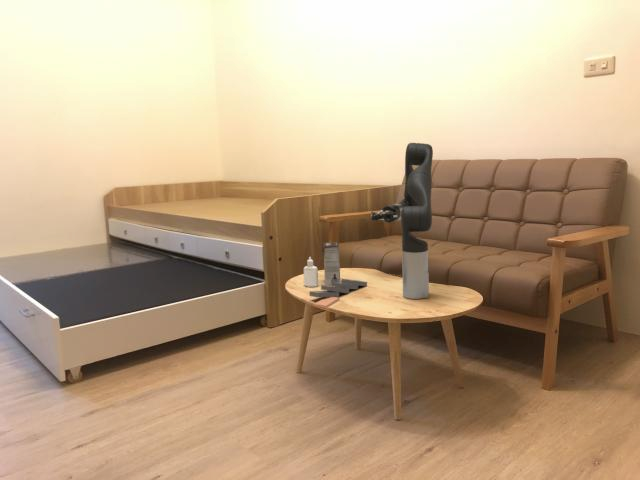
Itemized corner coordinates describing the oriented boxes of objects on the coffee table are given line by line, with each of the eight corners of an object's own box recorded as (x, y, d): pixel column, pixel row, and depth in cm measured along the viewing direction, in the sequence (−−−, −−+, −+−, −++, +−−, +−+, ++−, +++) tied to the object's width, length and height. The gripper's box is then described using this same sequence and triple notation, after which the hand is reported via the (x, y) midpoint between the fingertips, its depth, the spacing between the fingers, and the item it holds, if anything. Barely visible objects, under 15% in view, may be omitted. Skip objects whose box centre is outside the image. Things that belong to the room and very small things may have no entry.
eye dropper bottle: (312, 288, 212) (310, 259, 210) (302, 285, 216) (301, 257, 214) (320, 285, 215) (318, 257, 213) (310, 283, 219) (309, 255, 217)
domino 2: (330, 290, 202) (309, 291, 196) (339, 292, 198) (317, 293, 192) (330, 294, 202) (309, 295, 196) (339, 296, 198) (317, 297, 192)
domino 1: (340, 287, 206) (321, 285, 199) (349, 289, 202) (330, 286, 196) (339, 291, 206) (320, 289, 199) (348, 293, 202) (329, 291, 196)
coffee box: (324, 279, 225) (323, 242, 222) (340, 278, 225) (338, 241, 222) (324, 285, 216) (323, 246, 213) (340, 284, 216) (339, 245, 213)
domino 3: (327, 296, 197) (313, 304, 189) (339, 297, 195) (326, 305, 186) (327, 300, 198) (314, 308, 189) (339, 301, 195) (326, 310, 187)
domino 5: (357, 280, 215) (341, 278, 208) (367, 282, 212) (351, 280, 204) (356, 284, 215) (341, 282, 208) (366, 286, 212) (351, 284, 204)
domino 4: (348, 283, 211) (332, 281, 204) (358, 285, 207) (341, 283, 200) (348, 287, 211) (331, 285, 204) (357, 289, 207) (341, 287, 200)
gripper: (379, 203, 235) (359, 208, 221) (407, 204, 227) (387, 209, 213) (380, 220, 236) (360, 226, 222) (407, 222, 228) (388, 228, 215)
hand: (373, 218), depth 218 cm, fingers closed
